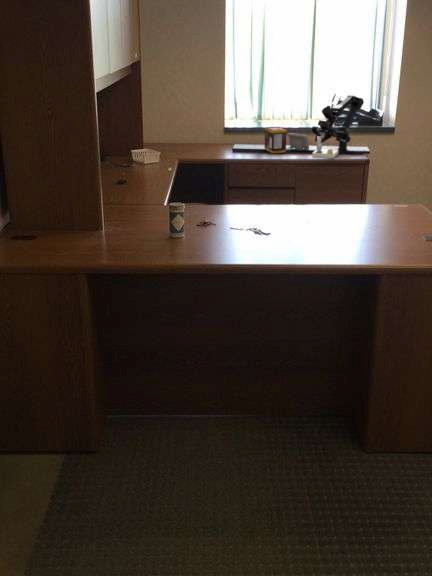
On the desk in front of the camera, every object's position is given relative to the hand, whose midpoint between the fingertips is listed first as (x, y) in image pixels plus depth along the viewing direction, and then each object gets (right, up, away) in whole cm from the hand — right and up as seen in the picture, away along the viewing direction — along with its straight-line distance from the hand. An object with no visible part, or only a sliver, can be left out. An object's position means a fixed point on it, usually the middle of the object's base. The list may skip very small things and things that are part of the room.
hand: (318, 141), depth 425 cm
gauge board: (+6, -7, +7) cm, 12 cm away
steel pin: (+1, -9, +5) cm, 10 cm away
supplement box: (-27, -2, +21) cm, 35 cm away
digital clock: (-10, +1, +28) cm, 29 cm away
